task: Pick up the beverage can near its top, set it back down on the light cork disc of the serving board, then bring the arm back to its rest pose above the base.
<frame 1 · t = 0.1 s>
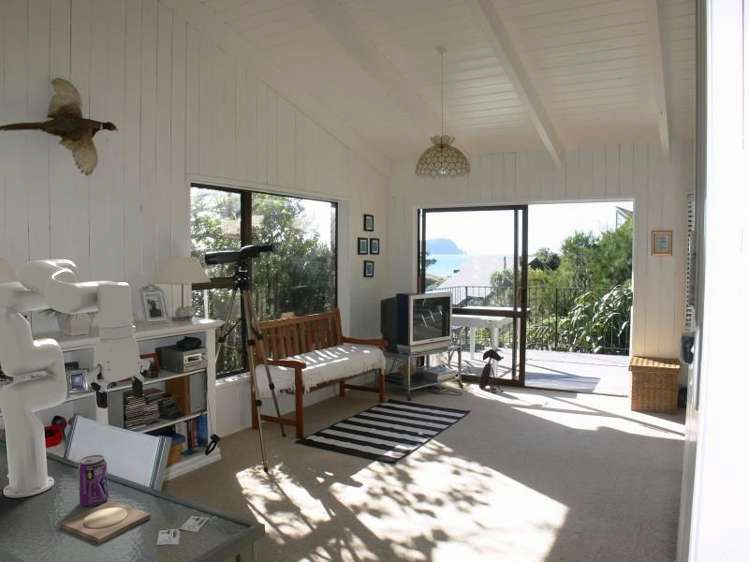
hand: (120, 402, 143), 31 cm above the table, fingers open, 9 cm apart
beverage can: (94, 502, 159), on the table
board: (106, 522, 147), on the table
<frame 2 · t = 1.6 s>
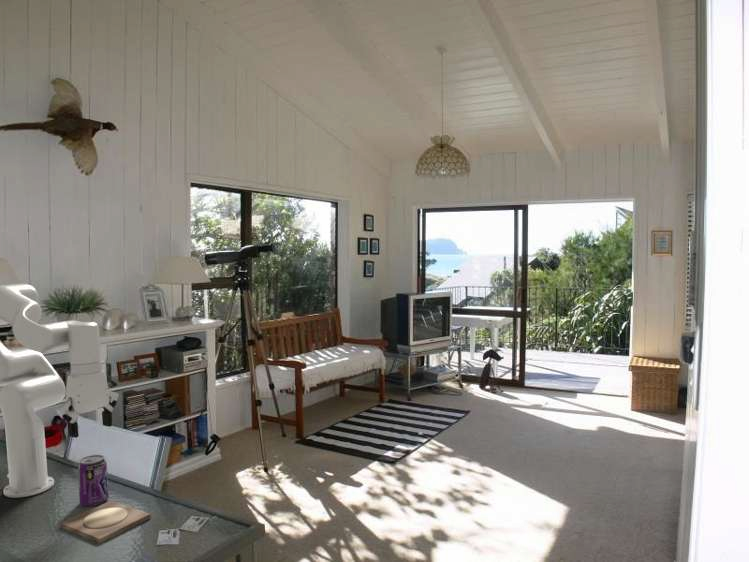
hand: (91, 431, 158), 20 cm above the table, fingers open, 9 cm apart
nothing on the table moved.
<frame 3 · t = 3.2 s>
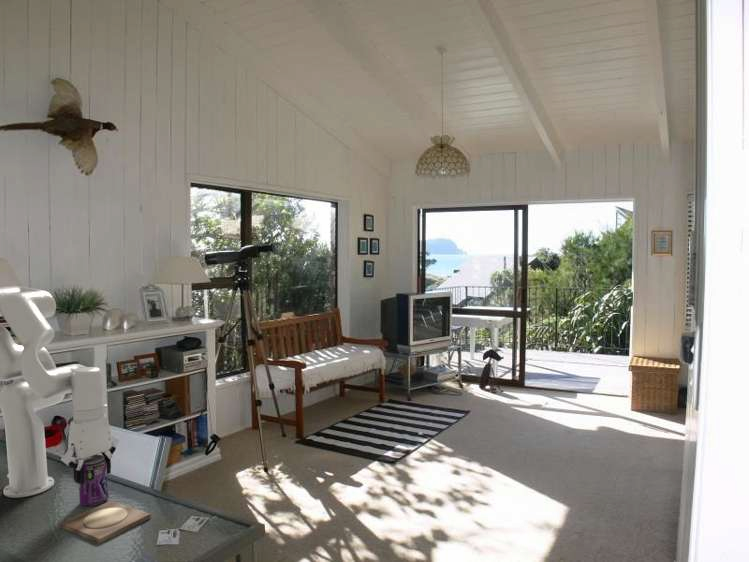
hand: (93, 477, 159), 7 cm above the table, fingers closed on beverage can, 7 cm apart
beverage can: (94, 502, 159), on the table, touching gripper
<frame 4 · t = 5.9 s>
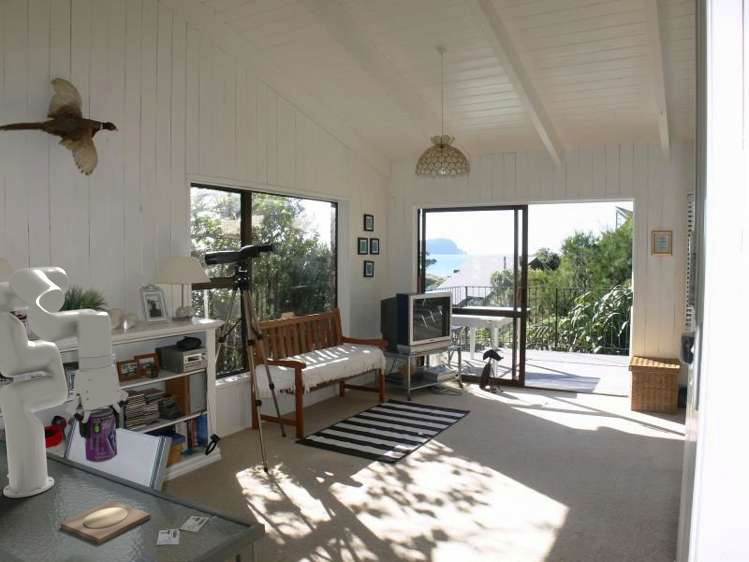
hand: (100, 432, 145), 23 cm above the table, fingers closed on beverage can, 7 cm apart
beverage can: (102, 459, 146), point 16 cm above the table, touching gripper
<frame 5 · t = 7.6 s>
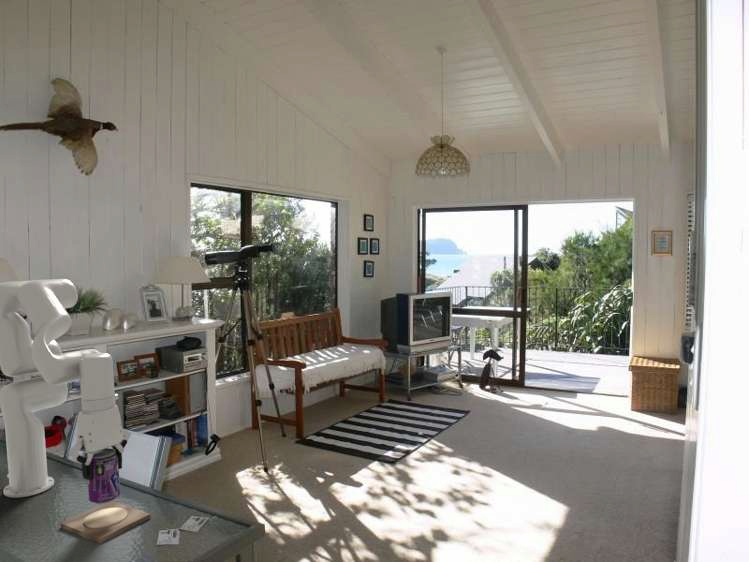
hand: (103, 472, 146), 13 cm above the table, fingers closed on beverage can, 7 cm apart
beverage can: (105, 500, 146), point 6 cm above the table, touching gripper
when the fingers open (10 cm above the table, at t = 8.9 s): beverage can drops 1 cm, resting on board.
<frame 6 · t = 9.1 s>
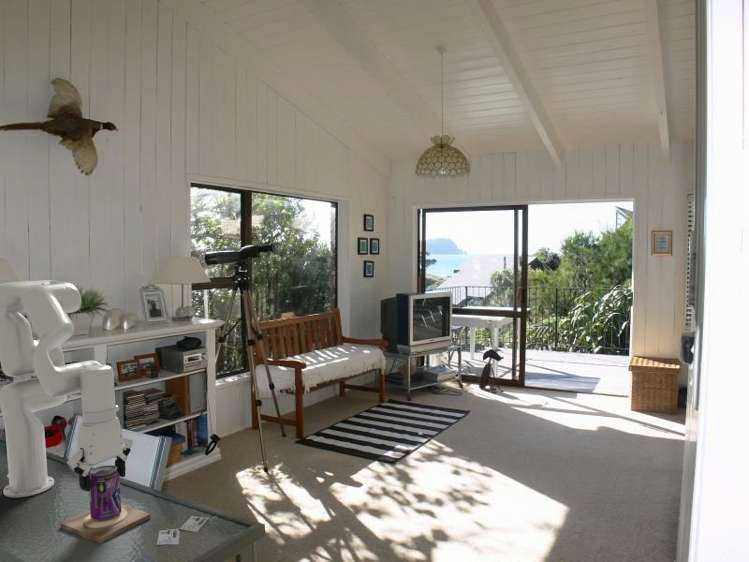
hand: (103, 482, 146), 10 cm above the table, fingers open, 9 cm apart
beverage can: (106, 516, 147), point 1 cm above the table, touching board
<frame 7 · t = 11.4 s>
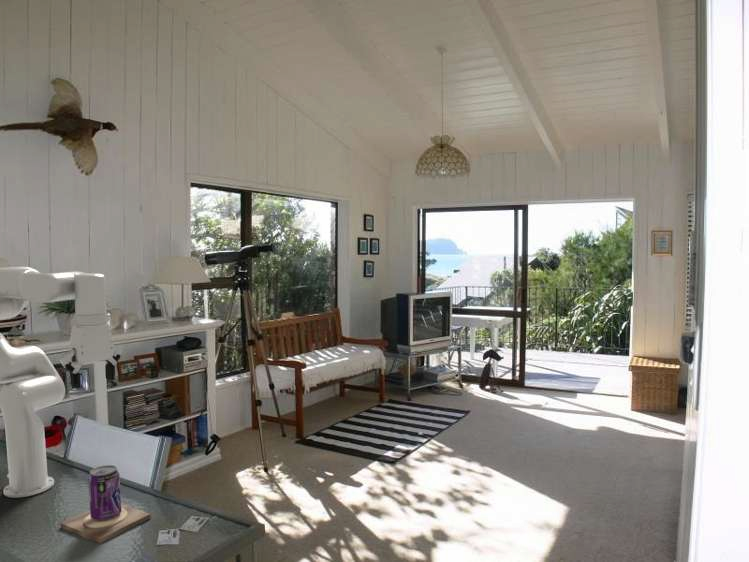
hand: (93, 383, 157), 33 cm above the table, fingers open, 9 cm apart
nothing on the table moved.
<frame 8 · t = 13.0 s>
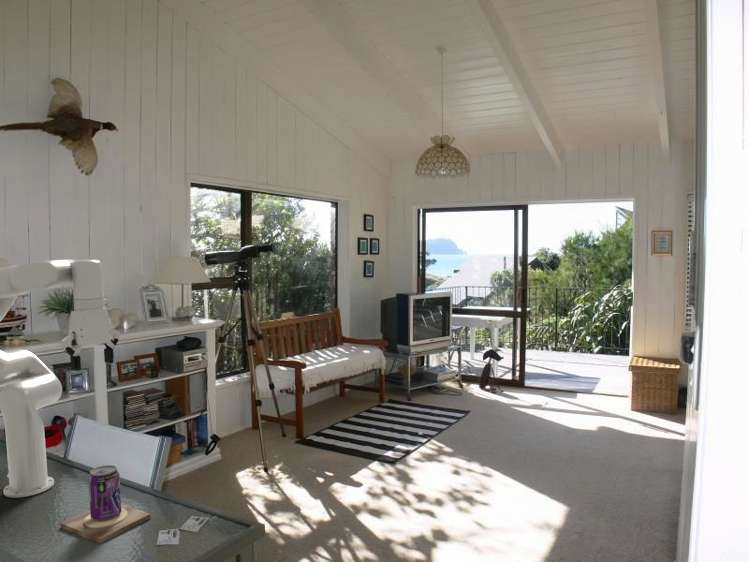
hand: (93, 366, 162), 36 cm above the table, fingers open, 9 cm apart
nothing on the table moved.
at the end: beverage can inside the target area on the board (0.4 cm from its centre), point 1.4 cm above the board's base; beverage can tilted 0°; the gripper is holding nothing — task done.
